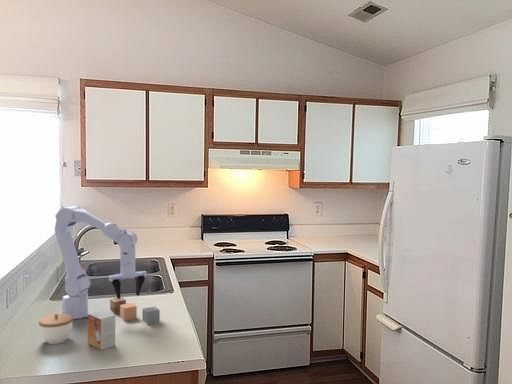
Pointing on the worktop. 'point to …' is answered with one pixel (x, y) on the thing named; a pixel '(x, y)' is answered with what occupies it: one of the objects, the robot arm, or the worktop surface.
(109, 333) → the small box
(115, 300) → the walnut cube
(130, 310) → the terracotta cube
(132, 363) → the worktop surface
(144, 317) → the slate cube
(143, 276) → the robot arm
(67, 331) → the lidded jar
